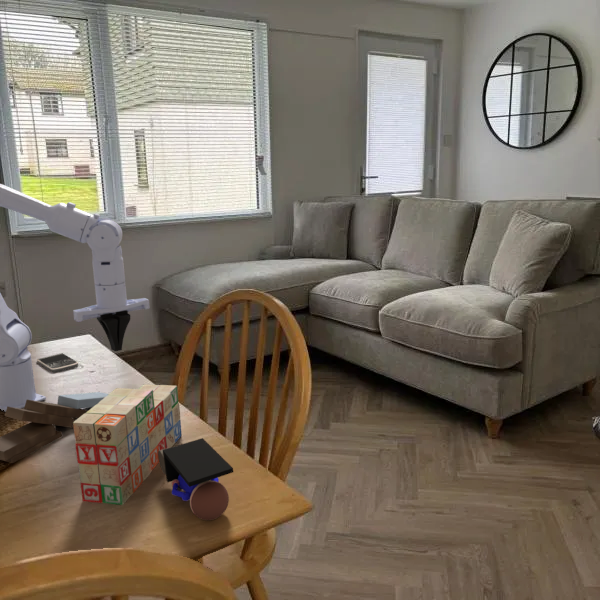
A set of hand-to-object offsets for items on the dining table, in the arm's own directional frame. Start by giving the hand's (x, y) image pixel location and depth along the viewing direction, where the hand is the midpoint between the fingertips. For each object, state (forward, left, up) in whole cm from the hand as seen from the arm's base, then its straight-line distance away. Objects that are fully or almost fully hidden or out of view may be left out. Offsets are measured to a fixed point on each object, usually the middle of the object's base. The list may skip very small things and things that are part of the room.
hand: (116, 349), depth 118 cm
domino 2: (+3, -15, -9) cm, 18 cm away
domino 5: (+1, -4, -9) cm, 10 cm away
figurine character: (+39, -20, -10) cm, 45 cm away
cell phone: (-28, +5, -10) cm, 30 cm away
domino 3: (+4, -18, -10) cm, 21 cm away
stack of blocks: (+25, -18, -10) cm, 32 cm away
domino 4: (+2, -11, -9) cm, 14 cm away
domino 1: (+4, -19, -8) cm, 21 cm away
